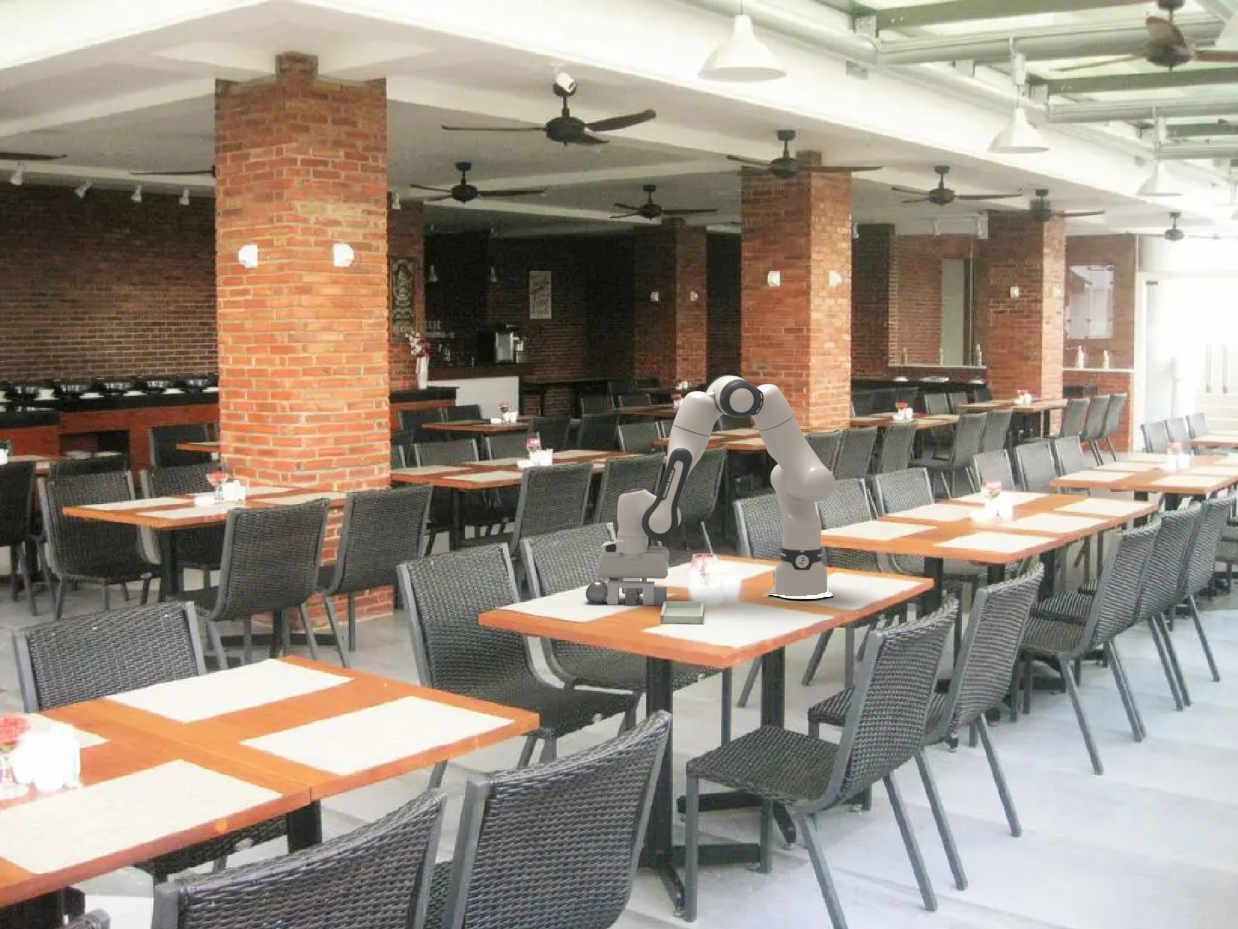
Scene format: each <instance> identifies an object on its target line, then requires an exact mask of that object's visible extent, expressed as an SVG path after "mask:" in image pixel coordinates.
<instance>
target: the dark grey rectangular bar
mask: <svg viewBox="0 0 1238 929" xmlns="http://www.w3.org/2000/svg"><path fill="white" fill-rule="evenodd" d="M639 600H641V594H638V588H627V589H626V592H625V594H624V606H625V607H626V606H631V607H633V606H634V607H635V606H637V604H638V601H639Z"/></svg>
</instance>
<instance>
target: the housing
mask: <svg viewBox="0 0 1238 929" xmlns="http://www.w3.org/2000/svg"><path fill="white" fill-rule="evenodd" d="M655 583H656V582H655V581H648V580H647V581H642V580H640V581H609V580H608V581H607V583H606V582H604V581H603V580H600V579H597V580H593V581H592V582H590V583H589V585H588V586H587V588H586V590H585V597H586V599H587V601H588V602H589V603H590V604H592V605H595V606H597V605H598V606H599V605H601V604H602V603H605V601H606V604H607V605H610V604H616V605H619V604H620V589H622V588H643V594H642V606H656V607H663V603H664V601H668V586H656V584H655ZM616 605H615V606H616Z"/></svg>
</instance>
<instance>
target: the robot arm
mask: <svg viewBox="0 0 1238 929" xmlns="http://www.w3.org/2000/svg"><path fill="white" fill-rule="evenodd" d="M723 415H726V416H729V417H732V418H736V419H737V418H738V419H739V418H745V417H746V418H747V417H751V418H752V420H753V421H754V423H755V424H754V425H755V426H756V428H757V431H758V434H759V435H760V438H761V440H762V442H763V444H764V447H765V448H766V451H767V453H768V455H770V457H771V458H772V459H773V460H775V462H776V463H777V464H776V465H775V466H774V467H773V469H772V471H771V472H770V484H771V486H772V488H773V489H774V492H775V494H776V497H777V501H778V507H779V511H780V515H781V547H780V551H779V555H780V556H779V558H780V559H779V560H780V562H779V563H778V564H777V566H776V567H775V569H774V570H773V573H772V574H773V575H772V578H773V579H774V580H773V587H772V588H770V589H769V590H768V591H767V594H768V593H769V594H777V595H785V596H807V595H818V594H821V593H825V592H827V589H828V568H826V566H825V565H824V564H823V562H822V560H823V548H822V547H821V545H822V544H821V540H822V538H821V536H822V522H821V519H820V517H819V515H818V513H817V510H816V507H815V503H818V502H822V501H823V502H824V501H826V500H827V499H830V497H831V496H832V494H834V491H835V488H836V479H835V476H834V474H833V473H832V472H831V470H829V469H828V467H826V466H825V464H823V462H822V461H821V459H820V457H819V456H818V455H817V453H816V452H815V451H814V450H813V448H812V446H811V445H810V444H809V443H808V441H807V439H806V437H805V436H804V434H803V432H802V429H801V427H800V424H799V422H798V421H797V418H796V416H795V414H794V412H793V409H792V407H791V406H790V404H789V402H788V400H787V399H786V396H785V395H784V394H783V392H782V391H781V389H780V388H779V387H778V386H777V385H775V384H772V383H766V384H761V385H759V386H755V385H753V384H752V383H751V382H749V381H748V380H746V379H744V378H742V377H740V376H738V375H737V376H736V375H732V374H722V375H719V376H717V377H715V378H714V379H713V380H712V381H711V382H710V383H709V385H707V386H706V387H704V388H703V390H702V391H699V390H698V391H697V390H694V391H690V392H688V393H687V394H686V395H685V396H684V398H683V400H682V401H681V404H680V405H679V408H678V410H677V412H676V415H675V418H674V420H673V424H672V427H671V430H670V433H669V440H668V446H667V457H666V465H665V471H664V474H663V477H662V480H661V483H660V485H659V489H658V492H657V494H656V495H654V494H653V493H651V492H649V491H648V489H646V488H642V487H637V488H630V489H627V490H625V491H623V492H622V493H621V494H620V495H619V497H618V501H617V511H616V512H617V513H616V517H617V518H616V520H617V525H618V529H617V534H616V537H617V538H616V539H612V540H609V541H605V542H603V543H602V545H601V546H600V547H601V549H600V550H601V553H600V554H599V556H598V560H597V565H596V567H597V568H596V575H597V577H598V578H607V579H608V578H618V581H623V580H624V578H640V579H641V581H648V579H653V580H654V579H655V580H656V579H658V580H659V579H661V580H662V579H666V578H667V577H668V575H669V570H668V569H669V567H668V561H669V560H670V551H669V548H667V547H665V546H663V545H649V539H651V540H653V541H657V542H665V541H668V540H670V539H672V538H673V537H674V536H675V535H676V533H677V531H678V528H679V526H680V524H681V523H682V522H681V521H682V510H680V507H679V502H680V500H681V497H682V494H683V491H684V488H685V485H686V482H687V480H688V477H689V476H690V474H691V472H692V470H693V469H694V467H695V466H696V465H697V463H698V462H699V461H700V460H701V458H702V456H703V455H704V453H705V450H706V449H707V447H708V444H709V441H710V438H711V435H712V433H713V429H714V425H715V424H716V422H717V421H718V419H720V417H721V416H723ZM774 585H775V586H774ZM626 589H627V588H621V593H622V595H623V594H624V595H625V592H626ZM771 591H775V592H771ZM638 594H640V595H643V588H638Z"/></svg>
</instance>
